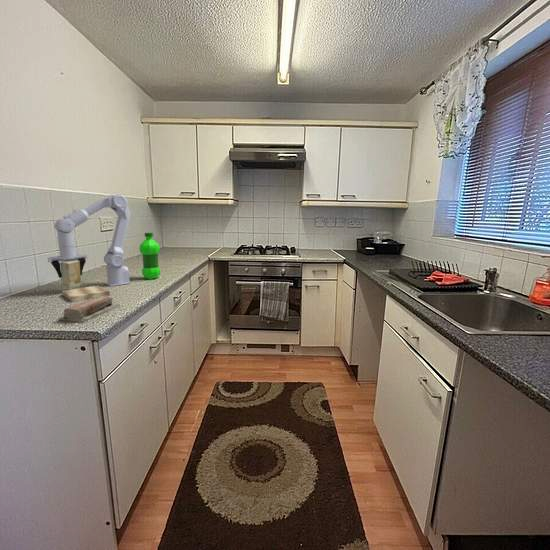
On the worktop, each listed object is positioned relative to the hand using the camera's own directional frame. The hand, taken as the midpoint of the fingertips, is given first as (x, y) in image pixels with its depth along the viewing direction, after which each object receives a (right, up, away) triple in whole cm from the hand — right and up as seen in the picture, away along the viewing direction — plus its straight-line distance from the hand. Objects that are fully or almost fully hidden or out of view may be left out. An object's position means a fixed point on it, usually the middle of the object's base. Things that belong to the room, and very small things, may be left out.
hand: (70, 276), depth 134 cm
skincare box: (0, -5, +1) cm, 5 cm away
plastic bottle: (+25, -2, +30) cm, 39 cm away
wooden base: (+11, -8, -6) cm, 15 cm away
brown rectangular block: (+27, -14, -27) cm, 41 cm away
